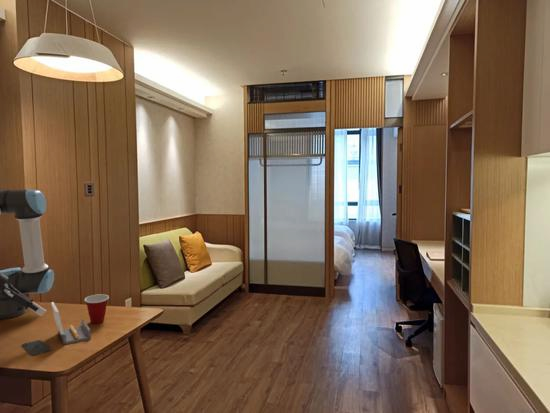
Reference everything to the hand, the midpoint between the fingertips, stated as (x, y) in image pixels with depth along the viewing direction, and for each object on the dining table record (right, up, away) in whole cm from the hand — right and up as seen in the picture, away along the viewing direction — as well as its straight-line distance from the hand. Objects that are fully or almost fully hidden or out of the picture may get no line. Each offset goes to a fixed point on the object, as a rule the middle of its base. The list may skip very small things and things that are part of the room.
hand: (43, 313), depth 156 cm
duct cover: (+4, -3, +4) cm, 6 cm away
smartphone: (0, -13, -5) cm, 14 cm away
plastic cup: (+11, -11, +25) cm, 30 cm away
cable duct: (+9, -12, +7) cm, 17 cm away
